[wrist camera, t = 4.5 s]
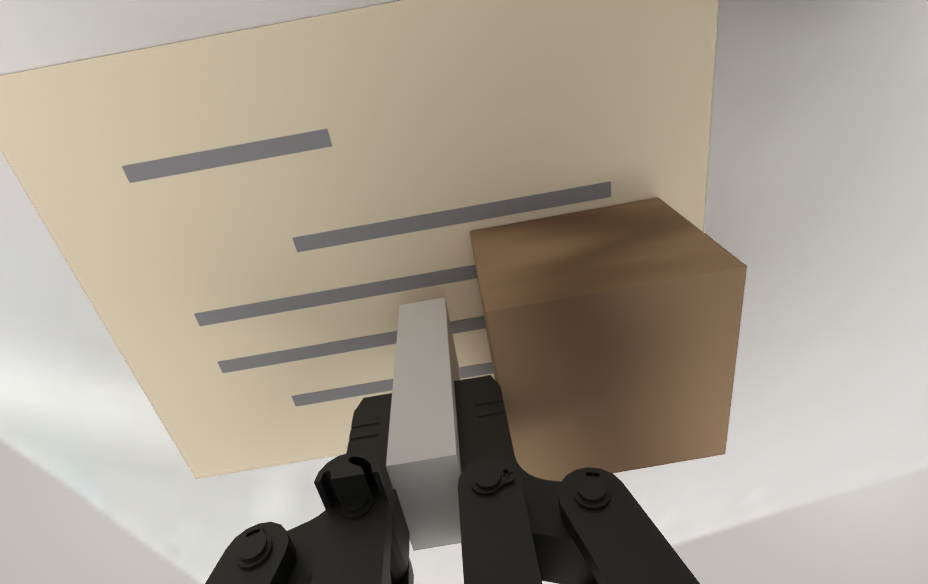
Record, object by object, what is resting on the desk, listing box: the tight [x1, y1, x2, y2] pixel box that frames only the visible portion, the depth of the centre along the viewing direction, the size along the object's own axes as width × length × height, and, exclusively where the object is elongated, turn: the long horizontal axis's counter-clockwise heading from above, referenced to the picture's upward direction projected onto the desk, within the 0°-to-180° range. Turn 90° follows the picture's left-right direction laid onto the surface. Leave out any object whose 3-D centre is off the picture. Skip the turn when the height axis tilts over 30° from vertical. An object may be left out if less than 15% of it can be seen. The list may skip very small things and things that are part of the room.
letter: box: [0, 0, 719, 479], centre depth 17 cm, size 20×15×1 cm
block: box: [470, 197, 747, 482], centre depth 15 cm, size 6×6×5 cm
